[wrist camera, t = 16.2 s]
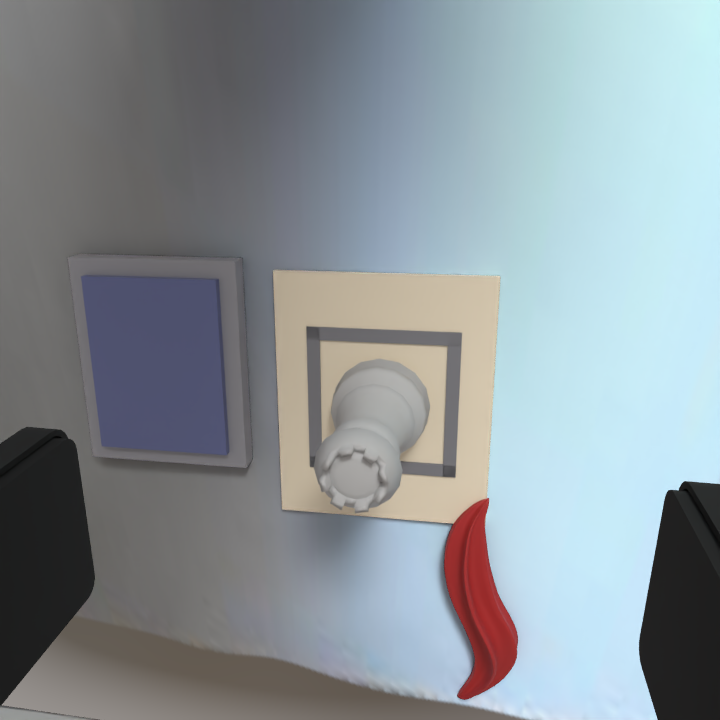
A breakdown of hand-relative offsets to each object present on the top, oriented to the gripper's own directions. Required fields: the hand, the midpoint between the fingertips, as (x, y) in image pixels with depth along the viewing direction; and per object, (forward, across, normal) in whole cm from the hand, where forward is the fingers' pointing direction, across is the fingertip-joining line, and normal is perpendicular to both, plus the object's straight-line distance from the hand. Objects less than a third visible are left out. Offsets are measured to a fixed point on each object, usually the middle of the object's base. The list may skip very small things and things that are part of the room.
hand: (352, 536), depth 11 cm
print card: (+20, +2, +6) cm, 21 cm away
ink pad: (+20, +12, +5) cm, 24 cm away
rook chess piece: (+20, +2, +6) cm, 21 cm away
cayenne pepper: (+20, -3, +16) cm, 26 cm away
